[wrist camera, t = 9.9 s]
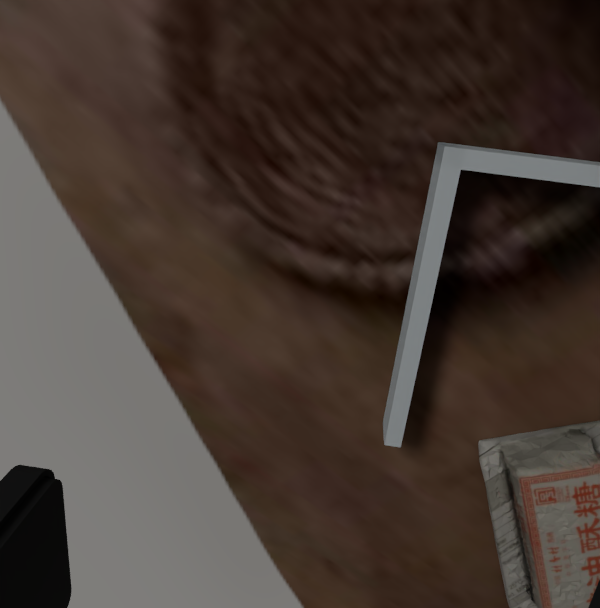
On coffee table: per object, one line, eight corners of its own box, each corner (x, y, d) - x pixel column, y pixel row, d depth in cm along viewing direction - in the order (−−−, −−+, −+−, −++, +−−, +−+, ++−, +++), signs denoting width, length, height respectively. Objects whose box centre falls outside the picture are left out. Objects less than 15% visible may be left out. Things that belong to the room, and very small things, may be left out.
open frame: (438, 142, 35) (444, 146, 32) (853, 194, 34) (897, 203, 31) (382, 422, 43) (384, 444, 40) (718, 474, 42) (744, 501, 39)
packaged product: (485, 476, 39) (637, 452, 37) (472, 436, 43) (607, 413, 41) (522, 657, 44) (655, 644, 42) (507, 605, 49) (627, 591, 47)
